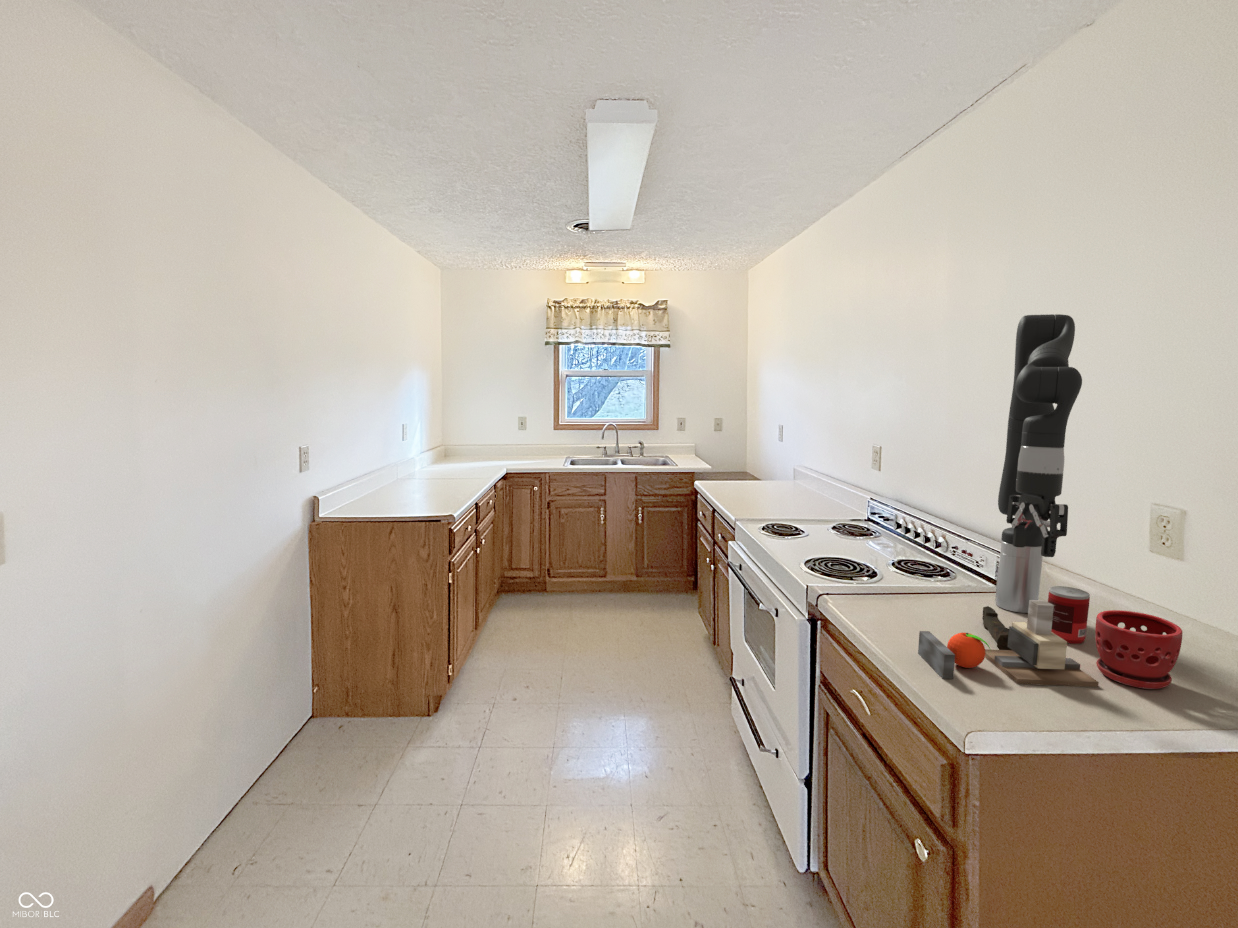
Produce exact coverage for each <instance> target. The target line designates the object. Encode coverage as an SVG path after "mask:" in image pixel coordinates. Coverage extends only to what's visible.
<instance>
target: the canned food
mask: <svg viewBox="0 0 1238 928" xmlns="http://www.w3.org/2000/svg"><path fill="white" fill-rule="evenodd" d="M1090 597H1091V595H1090V593H1089V592H1088V591H1085V590H1083V589H1081V588H1077V587H1072V586H1063V585H1056V586H1055V585H1054V586H1050V587H1049V590H1048V597H1047V602H1048V603H1050V604H1052V605H1054V608H1053V619H1052V629H1051V632H1053V633H1054V634H1056V635H1057V636H1059V637H1060V638H1062V639H1064V640H1065V641H1067V644H1070V645H1073V644H1075V645H1077V644H1082V643H1084V642H1085V639H1086V635H1087V627H1088V619H1089V611H1090V610H1089V608H1090Z"/></svg>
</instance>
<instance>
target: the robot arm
mask: <svg viewBox="0 0 1238 928" xmlns="http://www.w3.org/2000/svg"><path fill="white" fill-rule="evenodd" d="M1075 332H1076V324H1075V321H1074V318H1072V316H1070V315H1068V314H1058V313H1056V314H1027V315H1024V316H1022V317H1021V318H1020V320H1019V322H1018V324H1017V328H1016V333H1015V334H1016V336H1015V338H1016V339H1015V351H1014V372H1013V373H1014V374H1013V386H1012V391H1011V397H1010V398H1011V399H1010V406H1009V411H1008V421H1007V430H1006V432H1007V433H1006V442H1005V443H1006V444H1005V445H1006V446H1005V457H1004V464H1003V469H1002V472H1001V479H1000V480H1001V481H1000V483H999V484H1000V485H999V490H998V499H997V506H998V510H999V512H1000V513H1001V514H1002V515H1006V520H1005V521H1006V523H1007V524H1010V525H1011V527H1007V528H1004V529H1003V530H1002V532H1001V539H1000V540H1001V541H1000V551H999V553H1000V554H999V565H998V567H997V575H996V587H995V598H994V599H995V600H994V601H995V604H996V606H997V607H999V608H1000V609H1004V610H1007V611H1011V612H1015V613H1022V614H1028V609H1029V600H1039V597H1040V596H1039V595H1040V587H1041V576H1042V564H1043V557H1044V558H1054V557H1055V555H1056V552H1057V550H1056V549H1057V540H1058V538H1060V537H1066V536H1067V535H1068V523H1069V522H1068V521H1069V520H1068V519H1069V505H1068V504H1066V503H1065V504H1064V503H1063V504H1062V503H1061V504H1058V503H1056V497H1059V496H1061V495H1062V491H1063V479H1064V469H1065V443H1066V442H1065V440H1066V432H1067V425H1068V420H1069V417H1070V415H1071V412H1072V409H1073V408H1074V405H1075V402H1076V401H1077V398H1078V396H1079V394H1080V391H1081V388H1082V385H1083V377H1082V374H1081V373H1080V372H1079V370H1078V369H1077V368H1076V367H1072V366H1069V358H1070V355H1071V353H1072V349H1073V346H1074V341H1075V336H1076V335H1075ZM1054 404H1056V407H1055V406H1054ZM1058 525H1059V527H1060V528H1058Z"/></svg>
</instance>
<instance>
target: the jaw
mask: <svg viewBox="0 0 1238 928" xmlns="http://www.w3.org/2000/svg"><path fill="white" fill-rule="evenodd" d="M1053 608H1054V605H1052V604H1050V603H1048V600H1044V599H1043V600H1042V599H1038V600H1029V609H1028V613H1027V622H1023V621H1021V622H1020V621H1011V625H1010V626H1008V629H1009V634H1008V646H1007V647H1009V648H1010V649H1011V650H1013V651H1014V652H1015V653H1017V654H1018V655H1019V656H1021V657H1022V658H1023V659H1025V660H1026V661H1027V662H1029V663H1030V664H1031V665H1034V666H1035V667H1037V668H1040V669H1065V660H1066V658H1067V651H1068V650H1067V648H1068V643H1067V641H1065V640H1064V639H1062V638H1060V637H1059V636H1057V635H1056V634H1054V633H1053V632H1051V629H1052V619H1053Z"/></svg>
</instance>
